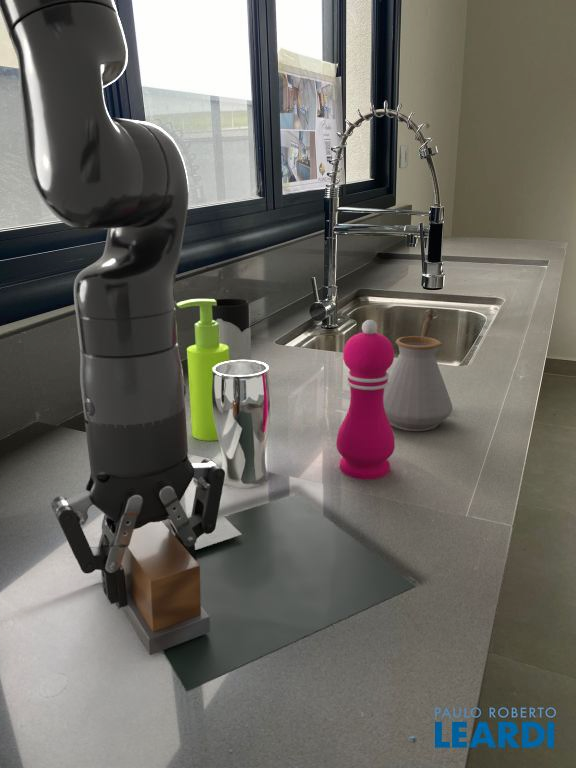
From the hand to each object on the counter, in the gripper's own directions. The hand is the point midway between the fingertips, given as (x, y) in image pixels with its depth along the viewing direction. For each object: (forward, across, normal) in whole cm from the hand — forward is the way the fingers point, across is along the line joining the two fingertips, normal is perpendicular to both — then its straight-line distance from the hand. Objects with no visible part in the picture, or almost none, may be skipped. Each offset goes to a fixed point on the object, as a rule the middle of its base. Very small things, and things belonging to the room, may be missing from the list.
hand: (151, 589), depth 51 cm
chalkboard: (+2, -10, 0) cm, 10 cm away
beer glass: (+3, -18, -17) cm, 25 cm away
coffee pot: (+3, -53, -23) cm, 58 cm away
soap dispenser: (+3, -21, -34) cm, 40 cm away
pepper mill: (+3, -32, -10) cm, 34 cm away
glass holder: (+3, -37, -55) cm, 67 cm away
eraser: (+1, 0, 0) cm, 1 cm away
